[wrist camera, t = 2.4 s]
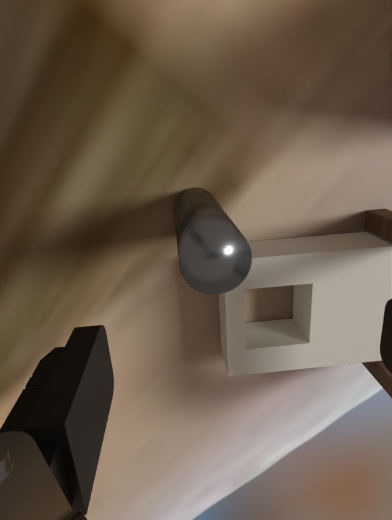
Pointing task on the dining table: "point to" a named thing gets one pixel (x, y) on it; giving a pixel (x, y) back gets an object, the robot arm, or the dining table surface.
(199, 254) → the peg
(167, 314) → the dining table surface
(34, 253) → the dining table surface
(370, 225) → the grey arch
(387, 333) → the robot arm
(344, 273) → the socket block
